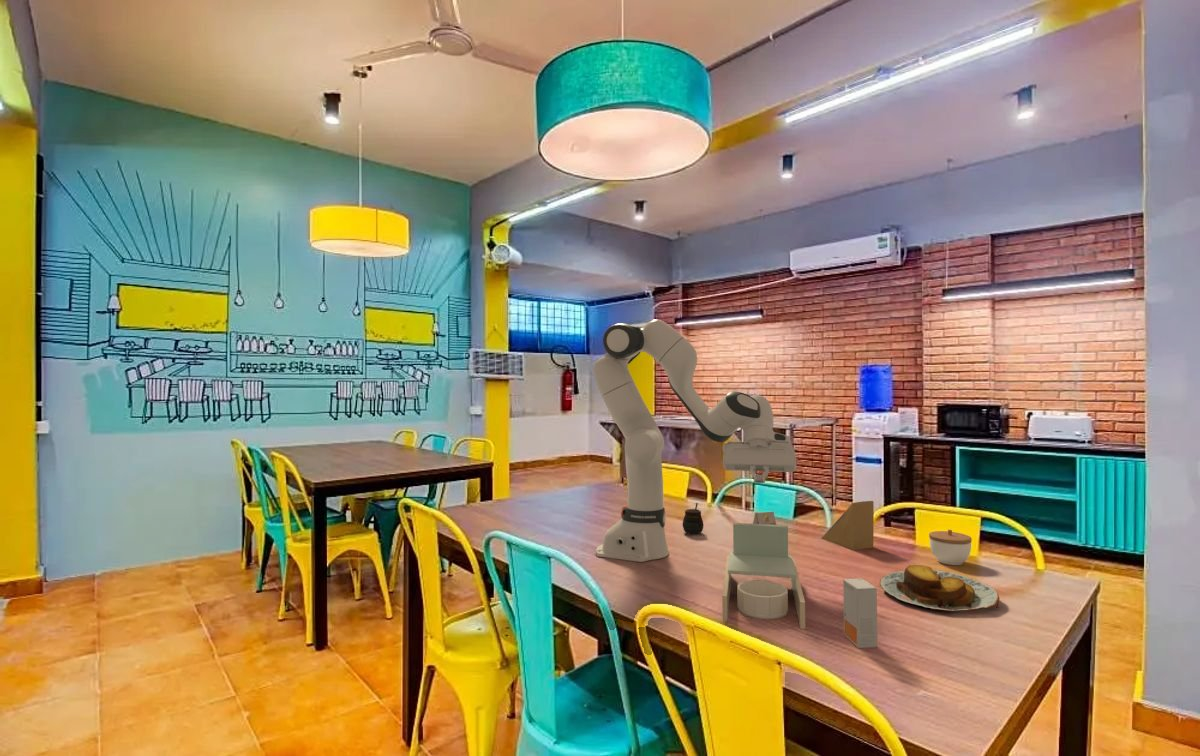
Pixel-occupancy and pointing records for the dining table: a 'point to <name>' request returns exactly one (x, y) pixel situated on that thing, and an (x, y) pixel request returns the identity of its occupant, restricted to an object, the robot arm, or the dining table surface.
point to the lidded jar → (950, 546)
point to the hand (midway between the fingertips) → (759, 481)
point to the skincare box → (860, 613)
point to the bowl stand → (764, 598)
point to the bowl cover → (761, 551)
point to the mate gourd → (693, 521)
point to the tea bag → (764, 518)
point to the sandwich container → (854, 527)
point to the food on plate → (939, 589)
